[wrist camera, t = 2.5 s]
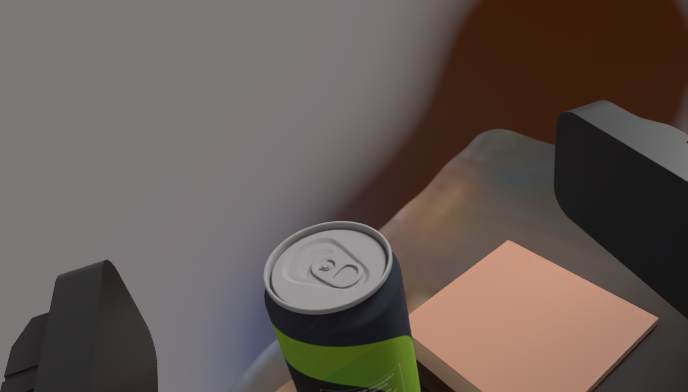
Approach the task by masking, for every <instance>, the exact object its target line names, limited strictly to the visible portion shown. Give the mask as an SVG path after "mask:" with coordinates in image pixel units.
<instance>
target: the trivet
mask: <svg viewBox="0 0 688 392" xmlns="http://www.w3.org/2000/svg"><path fill="white" fill-rule="evenodd" d="M408 316H409V322H410V328H411V334H412V338H414V339H415V340H416V341H418V342H419V343H420V344H421V345H423V346H424V347H425V348H426V349H428V350H429V351H430V352H431V353H433V354H434V355H435V356H436V357H438V358H439V359H440V360H442V361H443V362H444V363H445V364H447V365H448V366H449V367H450V368H452V369H453V370H454V371H455V372H457V373H458V374H459V375H460V376H462V377H463V378H464V379H466V380H467V381H468V382H469V383H471V384H472V385H473V386H474V387H476V388H477V389H478V390H479V391H481V392H592V391H593V390H594V389H595V387H596V386H597V385H598V384H599V383H600V382H601V381H602V380H603V379H604V378H605V377H606V376H607V375H608V374H609V373H610V372H611V371H612V370H613V369H614V368H615V367H616V366H617V365H618V364H619V363H620V362H621V361H622V360H623V359H624V358H625V357H626V356H627V355H628V354H629V353H630V352H631V351H632V350H633V349H634V348H635V347H636V346H637V345H638V344H639V343H640V342H641V341H642V340H643V339H644V338H645V337H646V335H647V334H648V333H649V332H650V331H651V330H652V329H653V328H654V327H655V326H656V325H657V324H658V319H659V318H658V317H656V316H654V315H652V314H650V313H648V312H646V311H644V310H642V309H640V308H639V307H637V306H635V305H633V304H631V303H629V302H627V301H625V300H623V299H621V298H619V297H617V296H615V295H613V294H612V293H610V292H608V291H606V290H604V289H602V288H600V287H598V286H596V285H594V284H592V283H590V282H588V281H587V280H585V279H583V278H581V277H579V276H577V275H575V274H573V273H571V272H569V271H567V270H565V269H563V268H561V267H560V266H558V265H556V264H554V263H552V262H550V261H548V260H546V259H544V258H542V257H540V256H538V255H536V254H534V253H533V252H531V251H529V250H527V249H525V248H523V247H521V246H519V245H517V244H515V243H513V242H511V241H509V240H508V241H506V242H505V243H504V244H502V245H501V246H500V247H498V248H497V249H496V250H494V251H493V252H492V253H490V254H489V255H488V256H486V257H485V258H484V259H482V260H481V261H480V262H478V263H477V264H476V265H474V266H473V267H472V268H470V269H469V270H468V271H466V272H465V273H464V274H462V275H461V276H460V277H458V278H457V279H456V280H454V281H453V282H452V283H450V284H449V285H448V286H446V287H445V288H444V289H442V290H441V291H440V292H438V293H437V294H436V295H435V296H433V297H432V298H431V299H429V300H428V301H427V302H425V303H424V304H423V305H421V306H420V307H419V308H417V309H416V310H415V311H413V312H412V313H411V314H409V315H408Z"/></svg>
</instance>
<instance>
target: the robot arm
mask: <svg viewBox="0 0 688 392" xmlns="http://www.w3.org/2000/svg"><path fill="white" fill-rule="evenodd" d="M554 191H555V195H556V199H557V201H558V204H559V206H560V207H561V209H562V211H563V212H564V213H565V215H566V216H567V217H568V218H569V219H571V220H572V221H573V222H574V223H575V224H577V225H578V226H579V227H580V228H581V229H582V230H584V231H585V232H586V233H587V234H588V235H589V236H591V237H592V238H593V239H594V240H595V241H596V242H598V243H599V244H600V245H601V246H602V247H604V248H605V249H606V250H607V251H608V252H609V253H611V254H612V255H613V256H614V257H615V258H616V259H618V260H619V261H620V262H621V263H622V264H624V265H625V266H626V267H627V268H628V269H629V270H631V271H632V272H633V273H634V274H635V275H636V276H638V277H639V278H640V279H641V280H642V281H643V282H645V283H646V284H647V285H648V286H649V287H651V288H652V289H653V290H654V291H655V292H656V293H658V294H659V295H660V296H661V297H662V298H663V299H665V300H666V301H667V302H668V303H669V304H670V305H672V306H673V307H674V308H675V309H676V310H678V311H679V312H680V313H681V314H682V315H683V316H685V317H686V318H687V319H688V134H686V133H684V132H682V131H680V130H678V129H676V128H674V127H672V126H670V125H666V124H662V123H658V122H654V121H650V120H646V119H642V118H639V117H637V116H635V115H633V114H631V113H629V112H628V111H626V110H624V109H622V108H620V107H618V106H616V105H614V104H612V103H611V102H608V101H604V100H602V101H598V102H595V103H592V104H589V105H585V106H582V107H579V108H576V109H574V110H570V111H567V112H564V113H562V114H561V115H560V117H559V118H558V120H557V124H556V143H555V169H554ZM4 377H5V382H3V383H2V386H1V390H0V392H158V377H157V359H156V351H155V347H154V343H153V340H152V337H151V334H150V332H149V329H148V327H147V325H146V323H145V321H144V319H143V317H142V315H141V314H140V312H139V310H138V308H137V306H136V304H135V302H134V301H133V299H132V297H131V295H130V293H129V291H128V290H127V288H126V286H125V284H124V282H123V280H122V279H121V277H120V275H119V273H118V271H117V270H116V268H115V266H114V265H113V264H112V263H111V262H110V261H109V260H104V261H101V262H98V263H95V264H92V265H89V266H86V267H83V268H80V269H77V270H73V271H70V272H67V273H65V274H61V275H59V276H58V277H57V279H56V282H55V287H54V291H53V296H52V301H51V306H50V311H49V313H45V314H43V315H39V316H37V317H33V318H32V319H31V320H30V322H29V323H28V325H27V326H26V328H25V329H24V331H23V332H22V333H21V335H20V336H19V338H18V339H17V340H16V342H15V343H14V345H13V346H12V348H11V352H10V356H9V359H8V363H7V367H6V371H5V375H4Z"/></svg>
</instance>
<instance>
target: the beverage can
mask: <svg viewBox="0 0 688 392" xmlns="http://www.w3.org/2000/svg"><path fill="white" fill-rule="evenodd" d="M263 279H264V284H265V296H264V297H265V305H266V308H267V311H268V314H269V317H270V319H271V322H272V325H273V327H274V330H275V333H276V336H277V338H278V341H279V344H280V347H281V349H282V352H283V355H284V357H285V360H286V363H287V366H288V368H289V371H290V374H291V376H292V379H293V382H294V385H295V387H296V390H297V392H421V388H420V382H419V376H418V370H417V364H416V358H415V352H414V346H413V340H412V334H411V328H410V322H409V316H408V310H407V304H406V298H405V292H404V286H403V280H402V274H401V269H400V265H399V262H398V260H397V258H396V256H395V255H394V253H393V252H392V251H391V248H390V245H389V243H388V241H387V240H386V239H385V237H384V236H383V235H382V234H381V233H379V232H378V231H377V230H375V229H373V228H371V227H369V226H367V225H364V224H360V223H355V222H346V221H337V222H327V223H322V224H318V225H314V226H311V227H308V228H306V229H303V230H301V231H299V232H297V233H295V234H293V235H292V236H290V237H289V238H287V239H286V240H284V241H283V242H282V243H281V244H280V245H279V246H278V247H277V248H276V249H275V250H274V251H273V252H272V254H271V255H270V257H269V258H268V260H267V262H266V265H265V268H264V274H263Z"/></svg>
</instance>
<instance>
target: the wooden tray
mask: <svg viewBox="0 0 688 392" xmlns="http://www.w3.org/2000/svg"><path fill="white" fill-rule="evenodd" d="M412 340H413V346H414V352H415V358H416V364H417V370H418V376H419V382H420V384H421V385H422V386H423V387H424V388H425V389H427V390H428V391H429V392H481V391H479V390H478V389H477V388H476V387H474V386H473V385H472V384H471V383H469V382H468V381H467V380H466V379H464V378H463V377H462V376H460V375H459V374H458V373H457V372H455V371H454V370H453V369H452V368H450V367H449V366H448V365H447V364H445V363H444V362H443V361H442V360H440V359H439V358H438V357H436V356H435V355H434V354H433V353H431V352H430V351H429V350H428V349H426V348H425V347H424V346H423V345H421V344H420V343H419V342H418V341H416V340H415V339H414V338H412ZM275 392H297V390H296V387H295V385H294V382H293V379H292V380H290V381H289V382H288V383H286V384H285V385H283V386H282V387H281V388H279V389H278V390H277V391H275Z"/></svg>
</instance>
